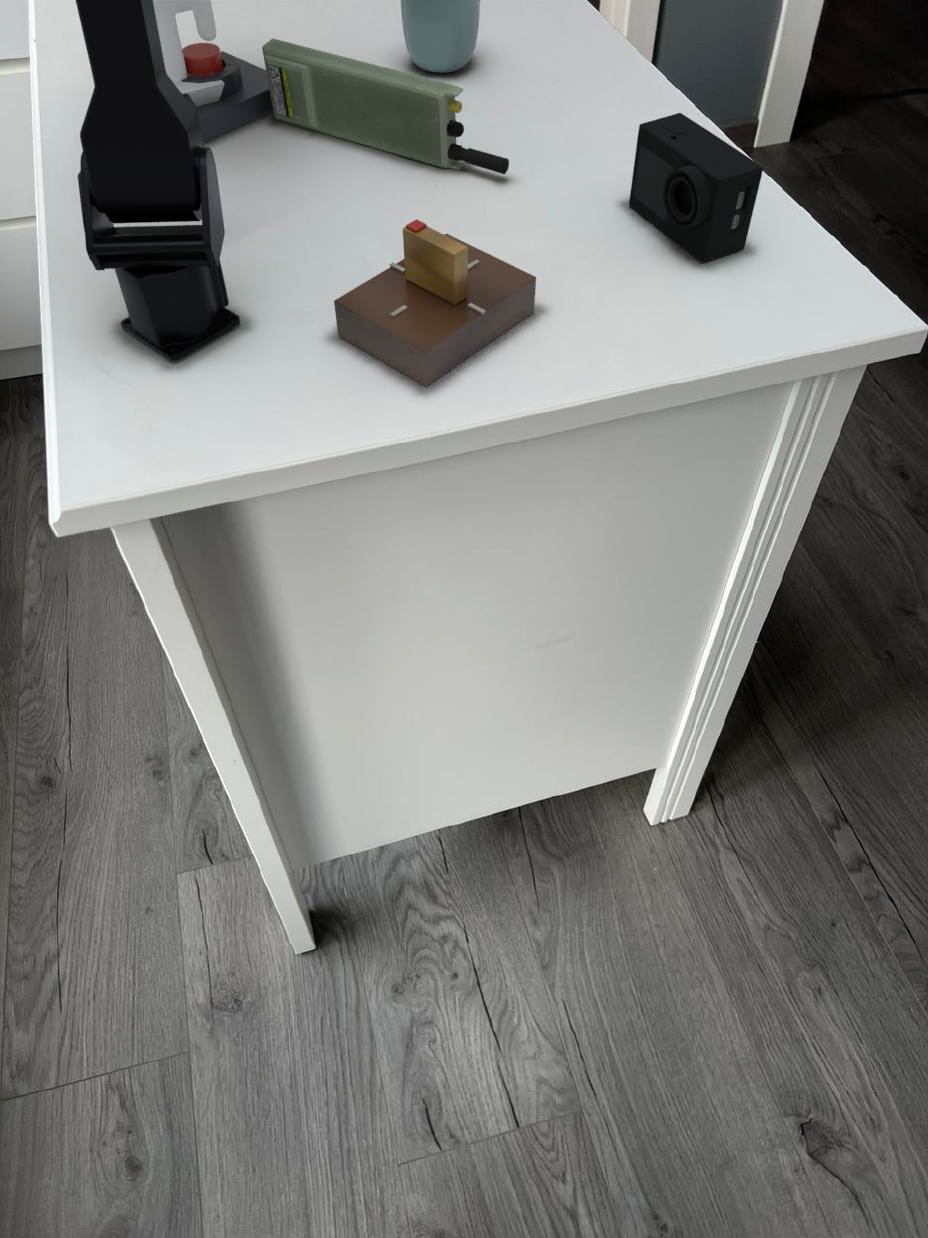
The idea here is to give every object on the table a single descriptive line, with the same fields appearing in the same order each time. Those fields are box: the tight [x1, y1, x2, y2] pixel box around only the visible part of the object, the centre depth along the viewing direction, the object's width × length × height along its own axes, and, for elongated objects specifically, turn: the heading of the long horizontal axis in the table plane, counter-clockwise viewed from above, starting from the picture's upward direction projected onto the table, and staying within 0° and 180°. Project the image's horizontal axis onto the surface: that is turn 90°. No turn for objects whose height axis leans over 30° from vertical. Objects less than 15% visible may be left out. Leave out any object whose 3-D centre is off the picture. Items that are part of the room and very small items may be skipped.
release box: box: [181, 50, 274, 145], centre depth 95 cm, size 12×10×4 cm
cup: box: [400, 0, 481, 74], centre depth 99 cm, size 8×8×10 cm
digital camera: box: [628, 112, 764, 264], centre depth 80 cm, size 10×5×7 cm, turn 29°
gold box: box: [402, 218, 468, 305], centre depth 71 cm, size 5×1×4 cm, turn 47°
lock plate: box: [333, 233, 537, 387], centre depth 74 cm, size 12×9×3 cm
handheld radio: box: [261, 37, 510, 175], centre depth 89 cm, size 7×3×25 cm
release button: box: [182, 42, 223, 76], centre depth 93 cm, size 4×4×2 cm
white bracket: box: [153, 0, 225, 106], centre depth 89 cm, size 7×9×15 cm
